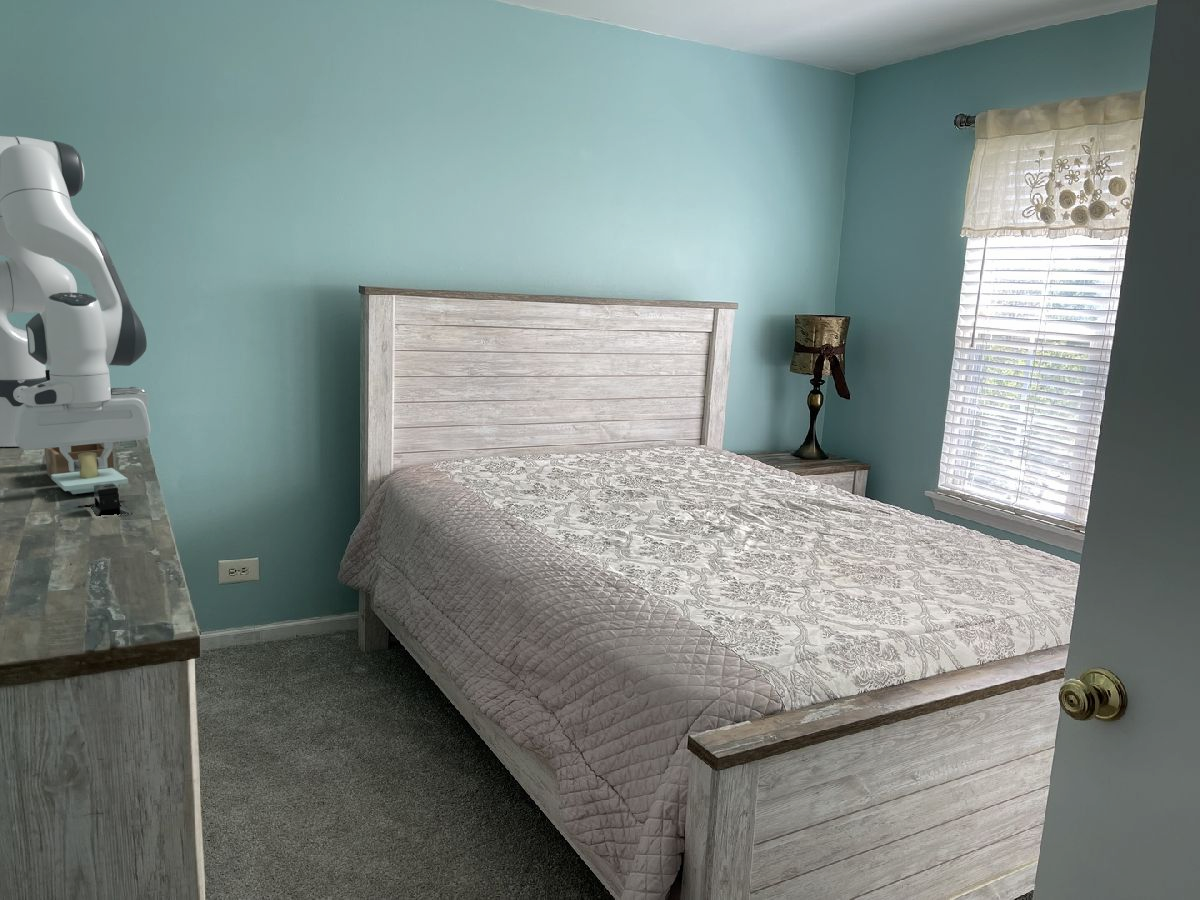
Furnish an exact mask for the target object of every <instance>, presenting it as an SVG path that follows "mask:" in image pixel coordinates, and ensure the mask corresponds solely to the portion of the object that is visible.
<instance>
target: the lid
mask: <svg viewBox="0 0 1200 900" xmlns="http://www.w3.org/2000/svg"><path fill="white" fill-rule="evenodd" d="M78 461H80V466H79V467H80V469H81V470H80V471H79V472H70V473H61V474H52V475H51V477H50V479H51V480H52V481H53V482H54V483H56V485H58V487H60V488H61V489H62V490H63V491H64V492H67V491H68V492H69V493H71V494H72V495H77V494H85V493H94V485H103V484H111V483H113V484H114V485H115V486H117V487H118V488H119V485H125V484H129V479H128V477H126V476H124V474H121V473H120V472H119V471H118V470H116V469H115V468H114V469H113V468H105V469H98V465H97V453H91V452H90V453H81V454H78Z"/></svg>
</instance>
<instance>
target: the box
mask: <svg viewBox="0 0 1200 900" xmlns="http://www.w3.org/2000/svg"><path fill="white" fill-rule="evenodd" d="M103 450H104V448H103V447H102V446H101V443H97V444H86V445H76V446H71V452H67V453H68V454H69V455H70V457H71V458H72V459H73V460H77V459H78V454H81V453H90V452H91V453H97V457H100V456H101V454H102V452H103ZM113 450H114V449H113ZM113 450H112V451H111V453H110V455H109V457H108V458H107V465H108V467H107V468H113V469H115V464H114V453H113V452H114V451H113ZM44 455H45V466H46V474H47V476H48V477H49V478H51V475H52V474H61V473H70V471H69V466H68V461H67V460H66V458H65V457H64V456H63V455H62V454H61V452H60V450H59V447H55V448H44ZM101 469H105V468H101ZM74 472H79V471H74Z"/></svg>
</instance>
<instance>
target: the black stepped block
mask: <svg viewBox="0 0 1200 900" xmlns="http://www.w3.org/2000/svg"><path fill="white" fill-rule="evenodd" d="M93 499H94V505H95V506H92V505H91V506H92V507H91V509H92V510H93V512H94V514H95V515H96V516H101V515H114V514H117V515H119V514H121V515H122V514H126V513H127V514H129V512H128V511H127V510H126V509H124V508H123V507H122V506H121V505H120V502H121V501H120V493H119V486H118V487H117V486H115V485H114V484H113V483H111V484H103V485H94V492H93Z"/></svg>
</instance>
